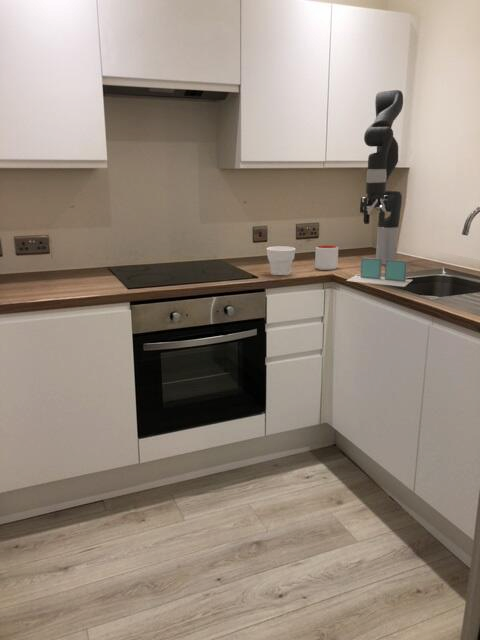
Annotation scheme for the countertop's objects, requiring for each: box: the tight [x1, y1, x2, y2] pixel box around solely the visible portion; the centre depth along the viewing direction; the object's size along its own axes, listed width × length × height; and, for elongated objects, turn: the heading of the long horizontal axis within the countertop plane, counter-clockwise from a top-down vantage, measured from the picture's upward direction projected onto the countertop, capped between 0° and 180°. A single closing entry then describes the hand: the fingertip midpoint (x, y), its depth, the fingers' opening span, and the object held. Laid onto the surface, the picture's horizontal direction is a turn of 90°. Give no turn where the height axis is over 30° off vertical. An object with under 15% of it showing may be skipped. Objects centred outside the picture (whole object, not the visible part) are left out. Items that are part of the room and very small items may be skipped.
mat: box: [345, 274, 413, 288], centre depth 206 cm, size 14×23×1 cm, turn 59°
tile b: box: [384, 259, 408, 282], centre depth 205 cm, size 2×8×8 cm, turn 60°
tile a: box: [360, 257, 383, 279], centre depth 210 cm, size 2×8×8 cm, turn 59°
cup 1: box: [266, 245, 296, 276], centre depth 221 cm, size 12×12×11 cm
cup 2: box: [314, 244, 339, 271], centre depth 231 cm, size 10×10×10 cm
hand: (373, 222), depth 207 cm, fingers open, 8 cm apart
